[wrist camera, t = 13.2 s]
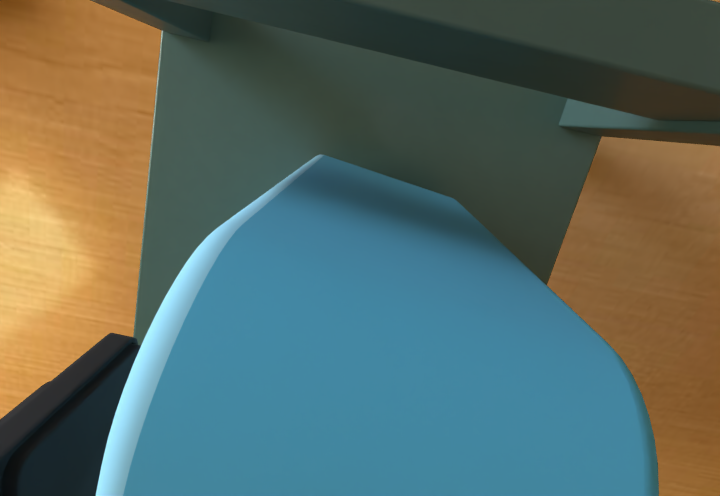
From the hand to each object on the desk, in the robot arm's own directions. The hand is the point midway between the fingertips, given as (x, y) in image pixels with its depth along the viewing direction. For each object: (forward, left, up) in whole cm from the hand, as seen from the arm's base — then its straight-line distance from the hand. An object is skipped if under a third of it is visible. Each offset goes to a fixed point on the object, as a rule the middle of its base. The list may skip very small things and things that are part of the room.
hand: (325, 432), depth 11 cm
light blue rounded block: (0, 0, -6) cm, 6 cm away
